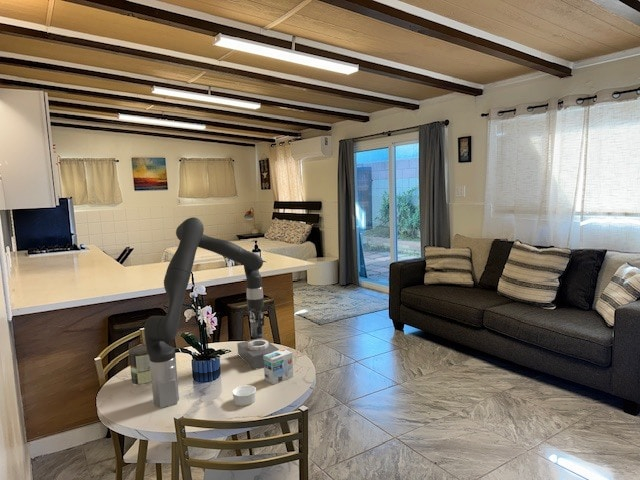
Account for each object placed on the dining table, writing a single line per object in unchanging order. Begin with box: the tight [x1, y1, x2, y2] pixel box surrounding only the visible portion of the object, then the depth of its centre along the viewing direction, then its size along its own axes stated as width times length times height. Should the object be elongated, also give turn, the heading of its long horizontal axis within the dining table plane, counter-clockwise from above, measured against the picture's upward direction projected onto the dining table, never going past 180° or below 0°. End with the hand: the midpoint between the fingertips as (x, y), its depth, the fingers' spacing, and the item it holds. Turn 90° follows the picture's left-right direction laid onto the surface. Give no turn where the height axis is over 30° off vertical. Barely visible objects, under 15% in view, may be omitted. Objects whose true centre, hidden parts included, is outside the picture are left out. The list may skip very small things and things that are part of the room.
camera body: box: [236, 336, 280, 370], centre depth 202 cm, size 20×13×8 cm, turn 31°
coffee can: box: [128, 343, 152, 387], centre depth 182 cm, size 10×10×14 cm
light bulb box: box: [263, 348, 294, 385], centre depth 180 cm, size 11×7×11 cm, turn 131°
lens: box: [249, 318, 264, 339], centre depth 200 cm, size 6×6×8 cm
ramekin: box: [231, 384, 257, 407], centre depth 163 cm, size 9×9×4 cm
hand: (257, 332), depth 200 cm, fingers closed on lens, 5 cm apart
